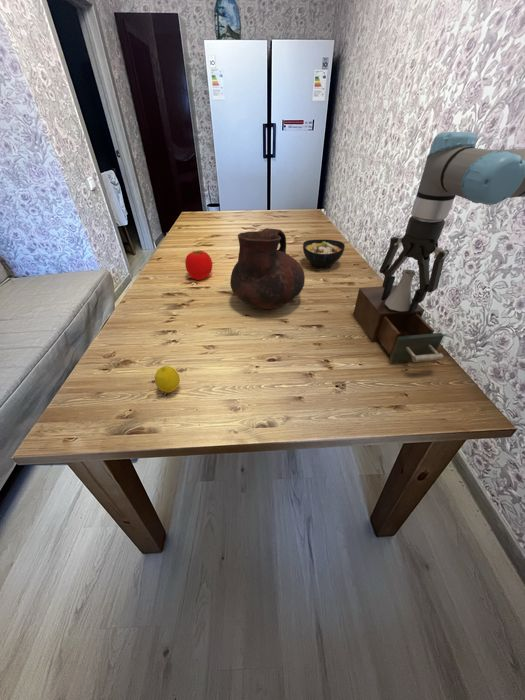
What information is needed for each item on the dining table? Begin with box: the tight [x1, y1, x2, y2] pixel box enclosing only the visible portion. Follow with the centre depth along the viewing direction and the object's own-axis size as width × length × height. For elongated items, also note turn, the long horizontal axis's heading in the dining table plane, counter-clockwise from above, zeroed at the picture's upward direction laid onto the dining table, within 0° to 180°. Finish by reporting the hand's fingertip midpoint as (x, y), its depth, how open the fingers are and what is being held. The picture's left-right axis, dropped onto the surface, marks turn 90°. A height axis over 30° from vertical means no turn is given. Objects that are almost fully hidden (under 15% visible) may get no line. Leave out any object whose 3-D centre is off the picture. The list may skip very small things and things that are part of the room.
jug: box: [229, 227, 306, 310], centre depth 94 cm, size 25×25×25 cm
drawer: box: [376, 313, 445, 364], centre depth 76 cm, size 19×12×8 cm, turn 7°
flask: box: [385, 268, 417, 311], centre depth 76 cm, size 7×7×10 cm
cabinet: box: [352, 284, 425, 343], centre depth 86 cm, size 15×13×10 cm
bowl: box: [302, 239, 346, 270], centre depth 121 cm, size 17×17×10 cm
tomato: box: [184, 250, 214, 281], centre depth 113 cm, size 10×11×11 cm
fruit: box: [154, 365, 181, 393], centre depth 67 cm, size 6×6×8 cm
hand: (398, 304), depth 79 cm, fingers closed on flask, 8 cm apart
